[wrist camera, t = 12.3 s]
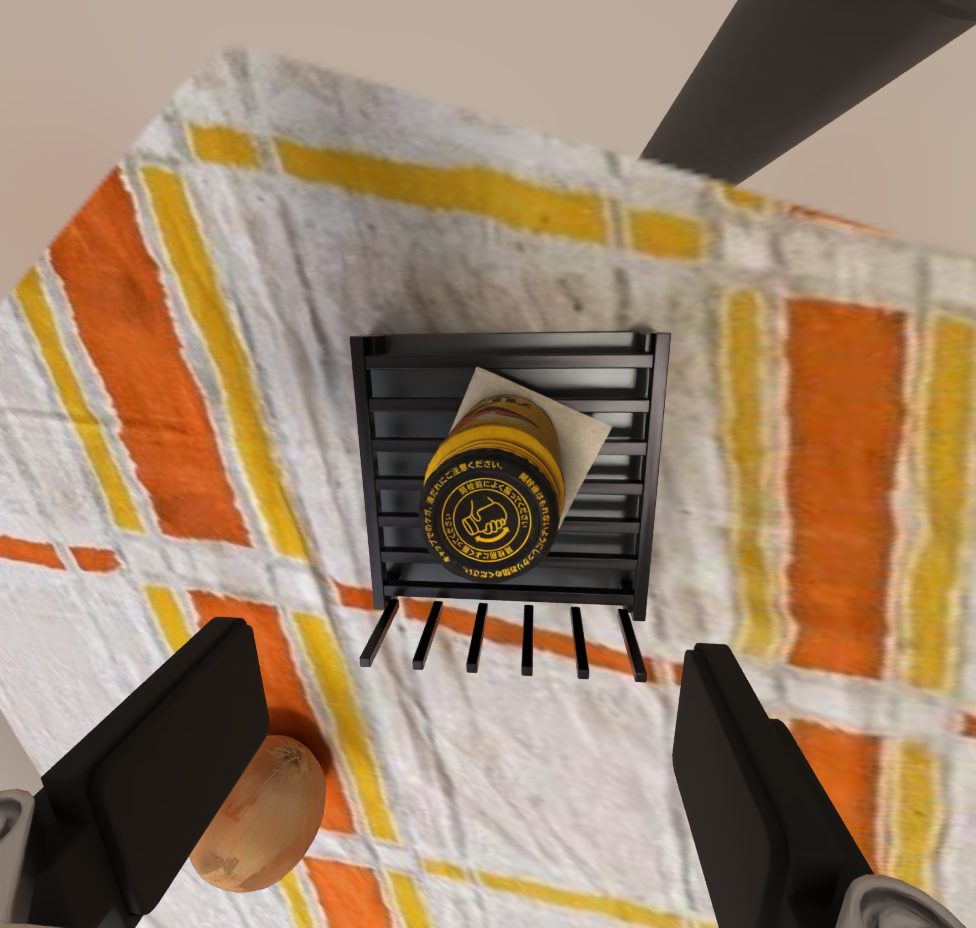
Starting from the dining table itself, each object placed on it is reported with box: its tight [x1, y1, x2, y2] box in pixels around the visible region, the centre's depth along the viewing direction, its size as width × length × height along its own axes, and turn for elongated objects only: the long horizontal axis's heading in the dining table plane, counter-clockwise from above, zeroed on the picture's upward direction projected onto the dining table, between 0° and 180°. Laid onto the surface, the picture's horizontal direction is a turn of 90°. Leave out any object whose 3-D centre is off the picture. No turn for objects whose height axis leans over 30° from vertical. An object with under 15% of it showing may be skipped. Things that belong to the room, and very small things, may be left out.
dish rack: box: [350, 331, 671, 682], centre depth 28 cm, size 18×18×9 cm
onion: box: [189, 735, 326, 893], centre depth 37 cm, size 10×10×10 cm
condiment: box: [418, 367, 612, 584], centre depth 23 cm, size 7×8×12 cm
